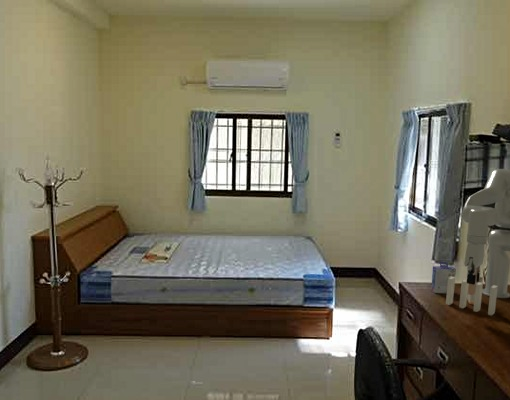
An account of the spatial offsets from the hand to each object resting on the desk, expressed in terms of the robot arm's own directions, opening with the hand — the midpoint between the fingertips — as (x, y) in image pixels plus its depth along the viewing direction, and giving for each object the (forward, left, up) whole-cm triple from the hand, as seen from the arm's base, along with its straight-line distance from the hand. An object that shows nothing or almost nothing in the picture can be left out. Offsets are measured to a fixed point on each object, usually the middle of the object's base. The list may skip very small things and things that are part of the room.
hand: (472, 282), depth 214 cm
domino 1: (-12, -13, -15) cm, 23 cm away
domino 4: (-12, -1, -15) cm, 20 cm away
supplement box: (-23, -6, -16) cm, 29 cm away
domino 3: (0, 0, -5) cm, 5 cm away
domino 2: (-12, -7, -15) cm, 21 cm away
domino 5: (-12, +5, -15) cm, 20 cm away
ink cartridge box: (-28, -22, -16) cm, 39 cm away
